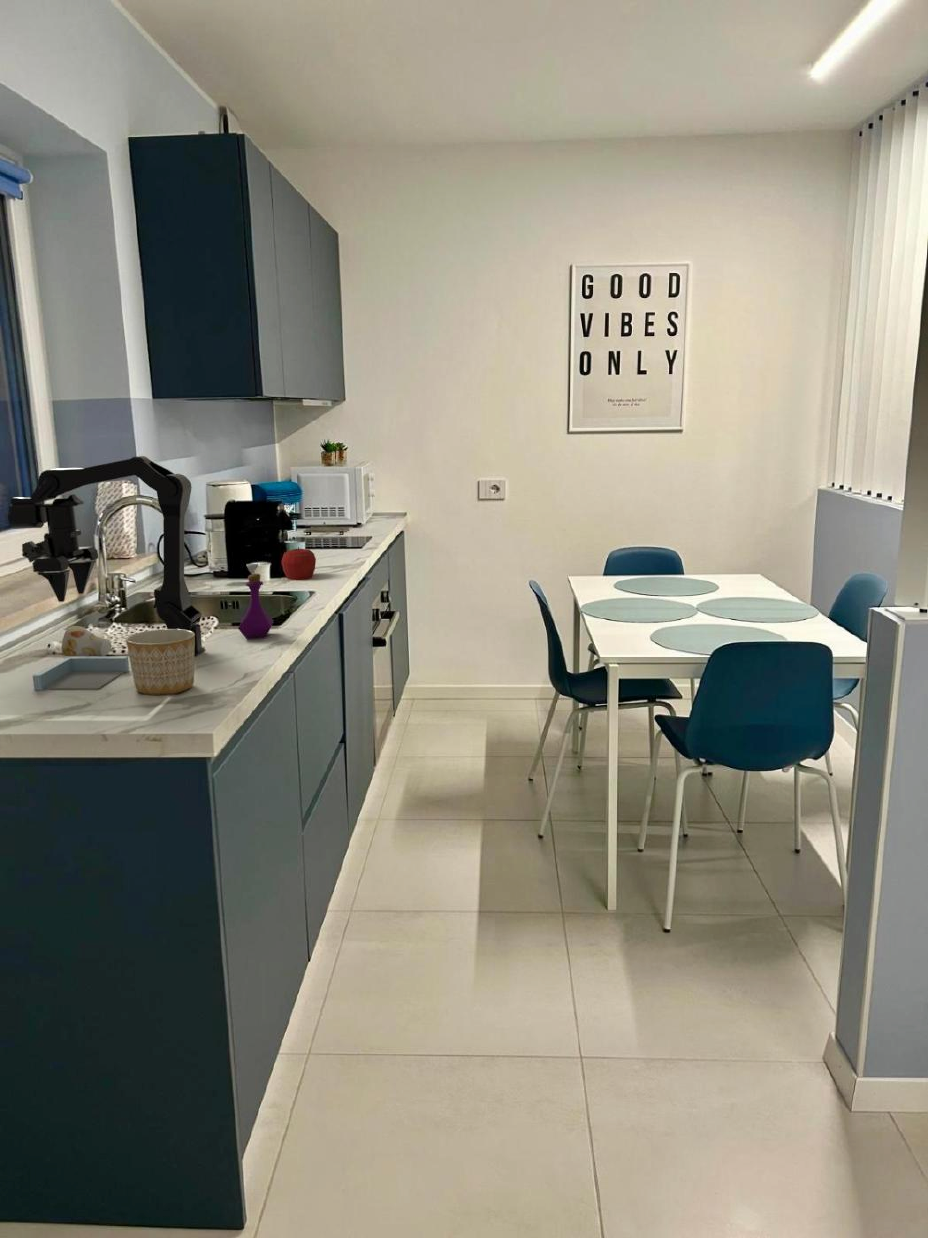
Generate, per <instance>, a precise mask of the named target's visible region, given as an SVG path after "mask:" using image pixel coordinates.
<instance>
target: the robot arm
mask: <svg viewBox="0 0 928 1238" xmlns="http://www.w3.org/2000/svg"><path fill="white" fill-rule="evenodd" d="M133 476H136V477H137V478H139V479H140V480H141V481H142V482H143V483H144V484H146V485H147V486H148V487H149V488H150V489H152V490H154V491H156V497H157V502H158V503H157V504H158V506H159V509H160V512H161V513H162V517H163V519H162V520H163V521H162V522H163V525H162V526H163V581H162V584H161V585H160V586H158V587H157V588H155V589H154V590H153V597H154V604H153V609H155V611H156V614H157V617H158V618H160V619H161V620H162V621H163V622H164V624H165V626H166V629H183V630H189V631H192V632H194V634H195V649H194V657H196V656H199V655H200V653H202V652H203V651H204V650H205V649H206V648H205V646H203V644H202V628H201V624H198V623H200V622H201V619H202V616H203V614H202V613H201V612H200V610H198V609H197V607H195V606H194V605H193V604H192V602H191V598H190V592H189V589H188V585H187V584H186V580H185V516H186V512H187V509H188V507H189V504H190V499H191V494H192V488H193V487H192V483H191V480H189V478H188V477H187V476H186V475H183V474H181V473H174V472H173V471H171V470H169V469H168V468H166V467H164V466H162V465H159V464H158V463H156V462H154V461H152V460H151V459H149V457H147V456H144V455H138V456H132V457H131V458H128V459H123V460H118V461H114V462H108V463H103V464H97V465H93V466H88V467H66V468H65V467H63V468H62V467H61V468H52V469H47V470H46V469H45V470H43V471H41V473H40V474H39V476H38V481H37V484H38V485H37V486H36V488H35V489H34V491H33V493H32V495H31V496H30V497H23V496H22V497H21V496H18V497H17V496H16V497H11V498H10V504H9V507H8V511H7V512H8V513H7V521H8V525H10V527H11V528H12V529H14V530H18V529H19V530H21V529H22V530H24V529H41V528H43V527H44V526H45V524H46V523H47V529H48V532H46V533H44V535H43V541H39V542H37V543H35V542H33V540H30V541H26V542H24V543H22V544H21V551H22V553H21V556H22V557H23V558H26V559H28V561H29V563H32V571H33V573H37V575H39V576H41V577H43V578H45V579H46V580H47V581H48V583H49V585H50V587H51V588H52V590H53V593H54V594H55V597H56V599H57V601H58V602H59V603H63V602H65V600H66V595H67V589H68V584H69V578H70V569H71V570H72V575H73V579H74V582H75V587H76V590H77V593H78V595H80V594H81V595H82V594H84V593H85V590H86V587H87V585H88V582H89V579H90V576H91V574H92V570H93V569H94V565H95V564H96V563H97V561H96V560H97V559H99V552H98V549H97V548H95V546H80V544H79V543H80V542H79V537H78V536H80V535H82V530H81V529H78V528H77V521H76V511H75V507H78V506H81V505H82V506H83V505H84V504H85V502H84V501H83V500H81V498H78V496H77V495H76V494H71V493H73V492H76V491H78V490H81V489H83V488H85V487H88V486H90V485H93V484H98V483H102V482H107V481H112V480H117V479H123V478H127V477H133ZM68 494H69V496H68V497H64V498H61V497H60V498H58V497H59V496H64V495H68ZM51 500H53V501H52V502H51V503H45V502H47V501H51ZM205 651H206V650H205Z"/></svg>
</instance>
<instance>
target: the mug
mask: <svg viewBox="0 0 928 1238" xmlns="http://www.w3.org/2000/svg"><path fill="white" fill-rule="evenodd" d="M61 652H62V654H63V655H64V657H93V656H95V657H107V655H109V653H110V652H111V653H112V652H114V649H113V648H112V642H111V641H110V639H108V638H104V637H100V636H98V635H96V634H94V633H93V632H92V631H90V630H88V629H87V628H84V627H82V626H80V625H79V626H78V625H72V626H70V627H68V628H67V629H66V631H65V632H64V633H63V637H62V641H61Z"/></svg>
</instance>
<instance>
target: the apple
mask: <svg viewBox="0 0 928 1238" xmlns="http://www.w3.org/2000/svg"><path fill="white" fill-rule="evenodd" d="M316 561H317V559H316V555H315V553H314V552H313V551H312V550H310V549H307V548H300V547H299V546H297V548H293V549H290V550H287V551H285V552H284V553H283V555H282V558H281V567H282V571H283V573H284V575H285V576H286V579H288V580H289V581H305V580H309V579H312V577H313V575H314V573H315V570H316Z"/></svg>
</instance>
